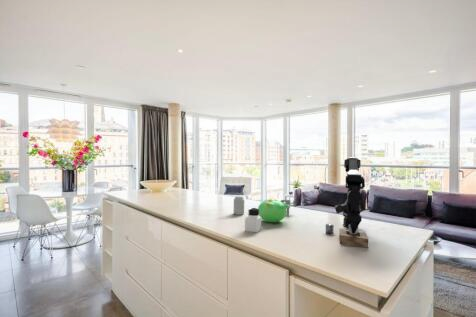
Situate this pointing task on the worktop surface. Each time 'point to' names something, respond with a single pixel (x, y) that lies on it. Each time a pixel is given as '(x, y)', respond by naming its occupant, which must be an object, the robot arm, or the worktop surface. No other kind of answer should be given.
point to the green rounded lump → (272, 210)
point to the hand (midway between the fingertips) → (353, 231)
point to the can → (238, 206)
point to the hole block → (353, 238)
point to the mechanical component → (287, 204)
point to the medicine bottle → (253, 220)
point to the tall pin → (351, 231)
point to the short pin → (329, 228)
